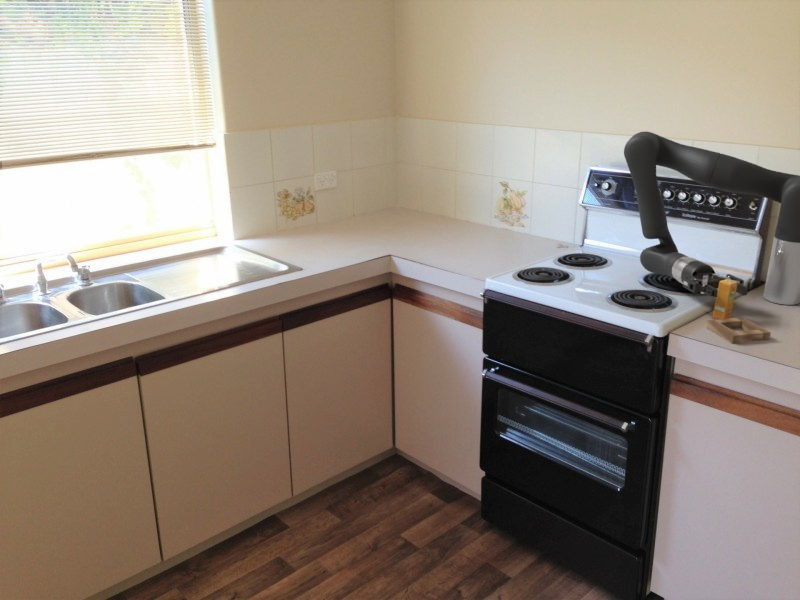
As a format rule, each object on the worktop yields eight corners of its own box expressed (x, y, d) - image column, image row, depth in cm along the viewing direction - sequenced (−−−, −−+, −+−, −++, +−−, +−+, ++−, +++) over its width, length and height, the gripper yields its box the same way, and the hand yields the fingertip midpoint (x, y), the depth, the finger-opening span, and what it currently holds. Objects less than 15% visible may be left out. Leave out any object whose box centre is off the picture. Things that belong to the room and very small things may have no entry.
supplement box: (724, 321, 184) (730, 284, 180) (712, 317, 186) (718, 280, 183) (731, 318, 186) (738, 281, 182) (719, 315, 188) (725, 278, 185)
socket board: (741, 324, 182) (742, 317, 181) (769, 340, 173) (770, 332, 172) (706, 327, 180) (707, 320, 179) (732, 343, 171) (733, 335, 170)
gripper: (670, 261, 194) (708, 280, 179) (718, 258, 197) (758, 276, 182) (667, 288, 196) (703, 309, 181) (714, 284, 199) (753, 304, 185)
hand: (731, 292), depth 182 cm, fingers open, 8 cm apart
